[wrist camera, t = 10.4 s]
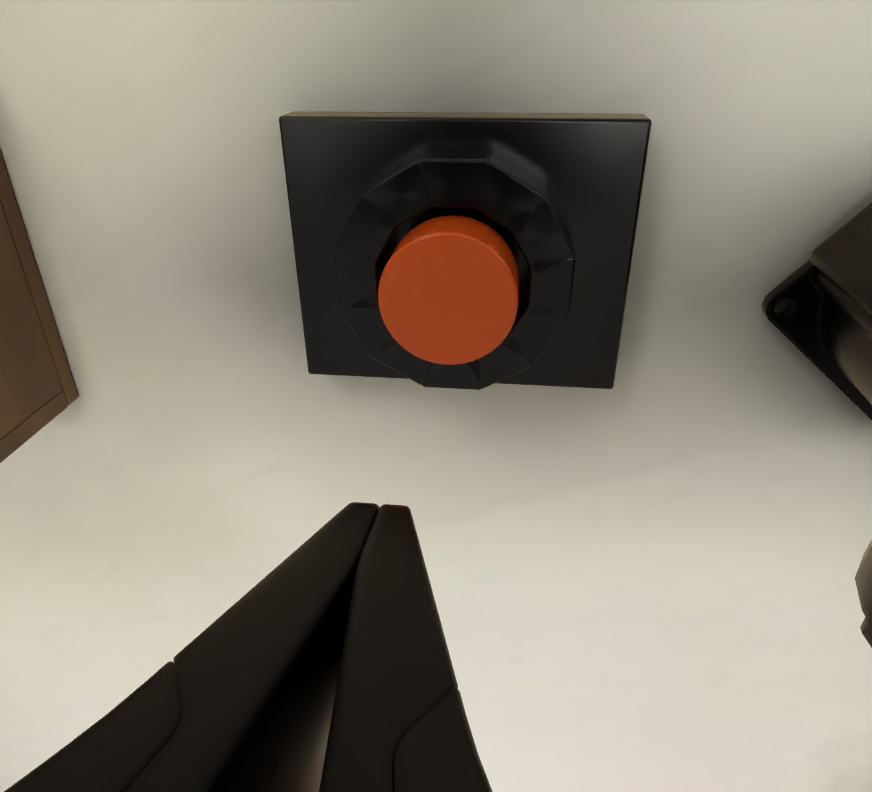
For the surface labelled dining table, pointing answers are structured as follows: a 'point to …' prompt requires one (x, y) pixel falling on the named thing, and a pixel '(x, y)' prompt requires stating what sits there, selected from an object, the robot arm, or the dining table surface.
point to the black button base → (478, 199)
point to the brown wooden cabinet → (26, 337)
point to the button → (450, 290)
